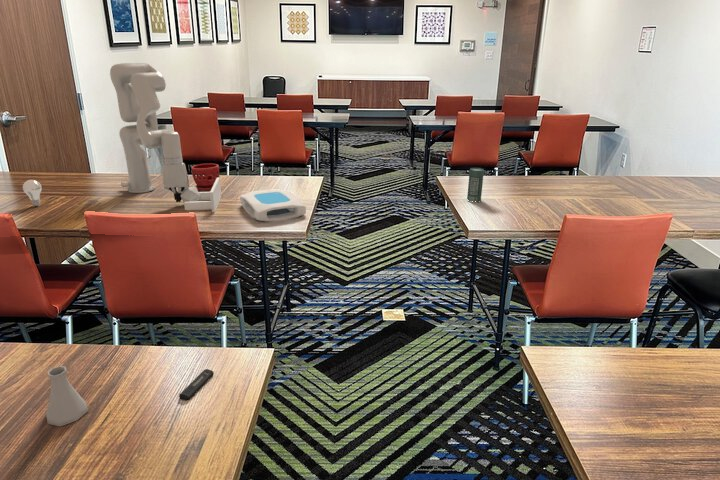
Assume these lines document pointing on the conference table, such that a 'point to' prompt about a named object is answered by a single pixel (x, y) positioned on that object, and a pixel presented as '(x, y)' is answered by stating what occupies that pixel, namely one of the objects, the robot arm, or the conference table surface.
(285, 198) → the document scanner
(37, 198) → the light bulb
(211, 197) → the two-post plank stand
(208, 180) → the plant pot
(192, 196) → the die
